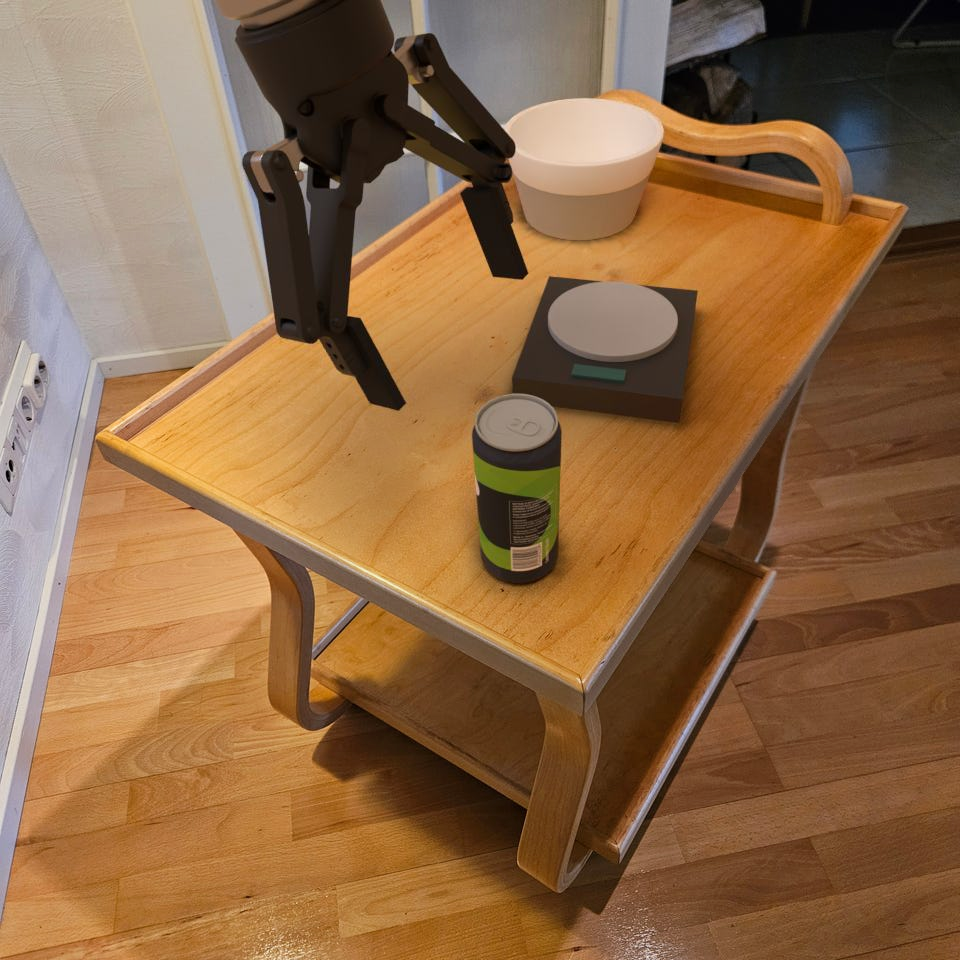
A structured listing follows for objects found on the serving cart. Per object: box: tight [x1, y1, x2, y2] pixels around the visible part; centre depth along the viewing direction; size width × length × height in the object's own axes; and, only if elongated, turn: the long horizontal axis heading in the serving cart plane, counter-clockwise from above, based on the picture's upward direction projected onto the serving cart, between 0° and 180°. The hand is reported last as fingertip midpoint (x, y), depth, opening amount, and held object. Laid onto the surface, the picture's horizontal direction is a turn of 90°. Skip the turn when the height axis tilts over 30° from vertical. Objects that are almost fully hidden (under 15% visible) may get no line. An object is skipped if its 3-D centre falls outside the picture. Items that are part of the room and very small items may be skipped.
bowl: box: [503, 97, 665, 241], centre depth 102 cm, size 19×19×11 cm
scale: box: [511, 275, 699, 424], centre depth 84 cm, size 16×18×4 cm
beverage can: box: [471, 393, 563, 584], centre depth 62 cm, size 6×6×15 cm
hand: (452, 336), depth 55 cm, fingers open, 13 cm apart
